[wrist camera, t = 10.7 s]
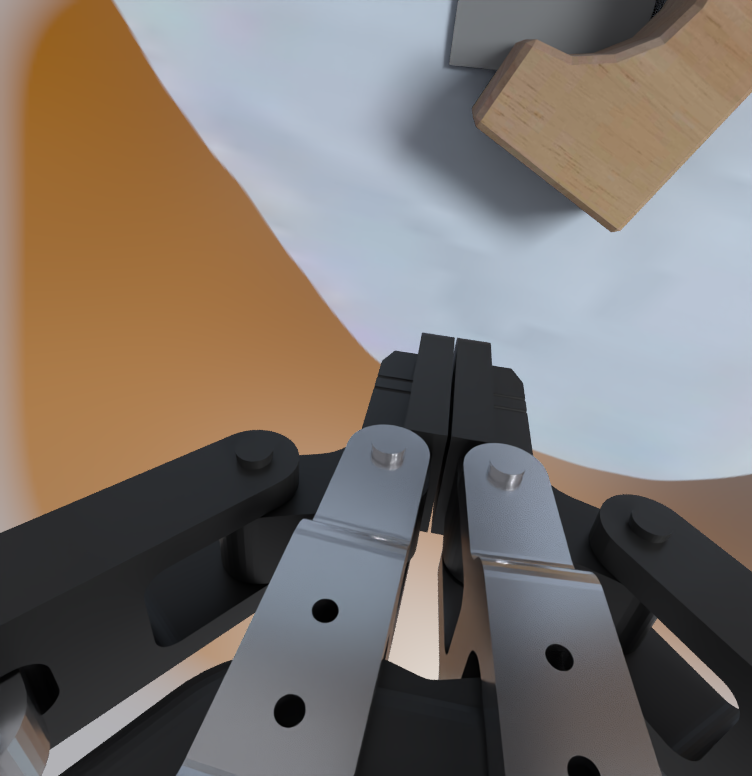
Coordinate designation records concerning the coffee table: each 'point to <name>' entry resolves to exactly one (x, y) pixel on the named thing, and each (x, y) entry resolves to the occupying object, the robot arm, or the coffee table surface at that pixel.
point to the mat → (542, 26)
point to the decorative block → (622, 105)
